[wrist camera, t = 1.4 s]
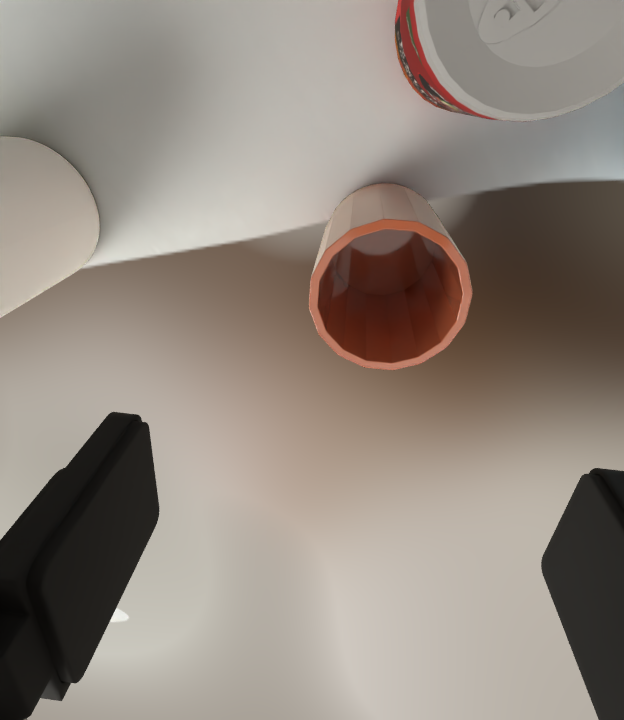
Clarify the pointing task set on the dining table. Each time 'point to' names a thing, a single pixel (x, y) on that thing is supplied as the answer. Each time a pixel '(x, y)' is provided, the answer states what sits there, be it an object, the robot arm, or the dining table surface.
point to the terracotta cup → (388, 280)
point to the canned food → (511, 54)
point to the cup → (41, 220)
